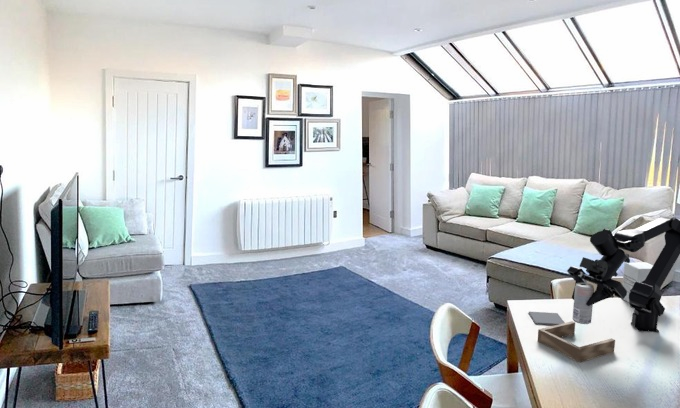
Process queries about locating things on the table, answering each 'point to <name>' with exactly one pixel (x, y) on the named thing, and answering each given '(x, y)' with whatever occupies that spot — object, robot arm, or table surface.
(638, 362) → the table surface
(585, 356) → the bay
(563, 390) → the table surface
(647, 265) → the supplement box
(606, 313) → the table surface
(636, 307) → the robot arm
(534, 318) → the mat
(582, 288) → the energy drink
